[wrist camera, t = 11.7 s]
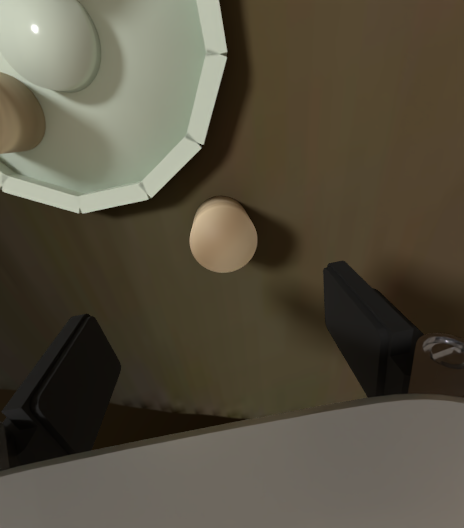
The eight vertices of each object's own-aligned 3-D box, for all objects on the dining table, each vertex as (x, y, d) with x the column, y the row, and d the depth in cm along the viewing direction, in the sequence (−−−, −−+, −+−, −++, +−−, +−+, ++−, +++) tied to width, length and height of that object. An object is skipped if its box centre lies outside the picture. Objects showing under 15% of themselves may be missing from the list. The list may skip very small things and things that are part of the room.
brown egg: (258, 222, 22) (271, 240, 17) (221, 258, 23) (224, 284, 18) (220, 183, 21) (222, 192, 16) (182, 224, 22) (175, 243, 17)
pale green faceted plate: (244, 174, 20) (248, 179, 18) (7, 224, 21) (-18, 236, 19) (170, -279, 11) (159, -377, 9) (-234, -166, 12) (-335, -232, 10)
